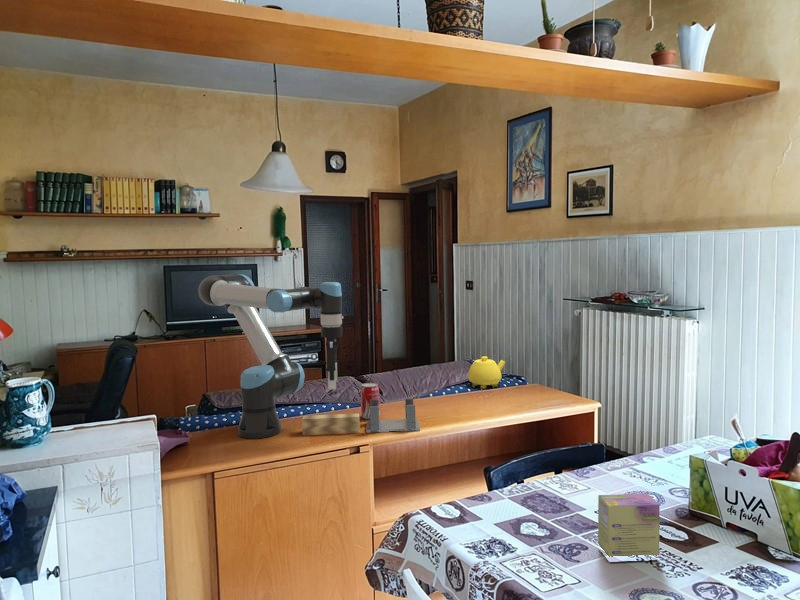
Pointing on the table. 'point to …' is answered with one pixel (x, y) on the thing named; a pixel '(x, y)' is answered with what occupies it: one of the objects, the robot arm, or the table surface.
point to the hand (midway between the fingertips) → (332, 384)
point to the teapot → (485, 372)
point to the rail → (330, 424)
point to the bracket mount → (394, 424)
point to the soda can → (368, 398)
